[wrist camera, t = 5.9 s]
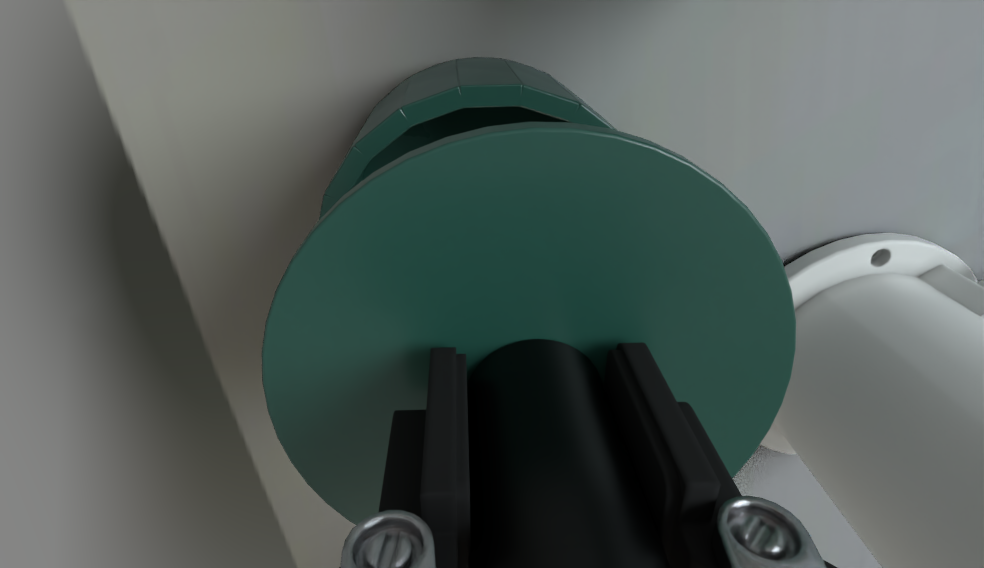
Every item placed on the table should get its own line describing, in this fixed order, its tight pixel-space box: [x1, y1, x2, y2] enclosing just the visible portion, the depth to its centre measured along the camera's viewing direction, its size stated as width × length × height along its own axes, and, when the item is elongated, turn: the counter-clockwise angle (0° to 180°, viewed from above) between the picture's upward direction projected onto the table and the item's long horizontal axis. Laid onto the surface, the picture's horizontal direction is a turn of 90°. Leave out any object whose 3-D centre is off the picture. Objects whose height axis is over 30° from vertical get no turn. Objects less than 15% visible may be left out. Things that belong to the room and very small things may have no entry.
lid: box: [262, 122, 796, 568], centre depth 11 cm, size 12×12×7 cm
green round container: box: [319, 57, 618, 220], centre depth 21 cm, size 11×11×6 cm
